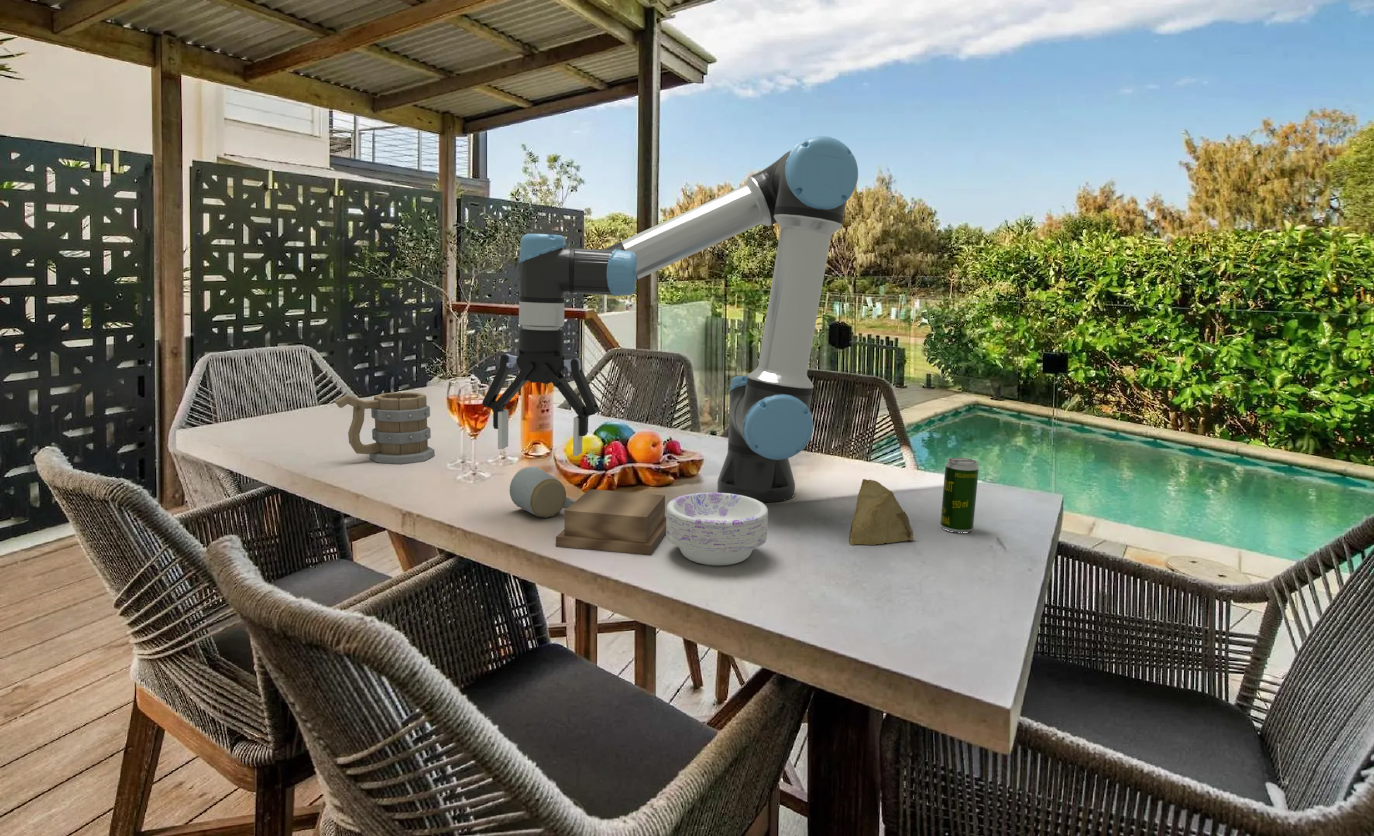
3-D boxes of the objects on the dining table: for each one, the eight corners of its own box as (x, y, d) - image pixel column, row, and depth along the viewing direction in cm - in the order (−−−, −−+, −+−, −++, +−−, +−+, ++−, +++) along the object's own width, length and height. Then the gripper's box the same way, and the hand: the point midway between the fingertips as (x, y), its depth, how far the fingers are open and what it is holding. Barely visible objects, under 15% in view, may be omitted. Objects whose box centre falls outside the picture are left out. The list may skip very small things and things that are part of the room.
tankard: (420, 449, 188) (418, 385, 186) (440, 459, 178) (439, 392, 176) (329, 459, 176) (326, 391, 173) (346, 471, 166) (343, 399, 164)
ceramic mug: (531, 522, 135) (532, 478, 134) (508, 511, 141) (508, 468, 140) (585, 513, 142) (586, 471, 141) (561, 502, 148) (561, 461, 147)
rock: (918, 520, 135) (859, 505, 138) (925, 488, 129) (863, 473, 132) (905, 573, 128) (843, 556, 131) (912, 543, 122) (846, 525, 125)
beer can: (964, 524, 141) (970, 457, 139) (978, 534, 136) (985, 464, 134) (935, 524, 141) (940, 457, 138) (947, 534, 135) (954, 464, 133)
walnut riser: (671, 525, 136) (672, 493, 135) (650, 554, 121) (651, 519, 120) (586, 518, 138) (586, 487, 138) (555, 545, 124) (555, 511, 123)
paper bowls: (706, 581, 111) (708, 526, 110) (646, 549, 124) (647, 499, 122) (787, 561, 120) (789, 509, 119) (723, 533, 132) (725, 486, 131)
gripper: (619, 330, 137) (615, 452, 141) (482, 322, 142) (482, 441, 145) (606, 333, 130) (603, 461, 134) (462, 325, 135) (462, 449, 138)
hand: (539, 451), depth 140 cm, fingers open, 13 cm apart
